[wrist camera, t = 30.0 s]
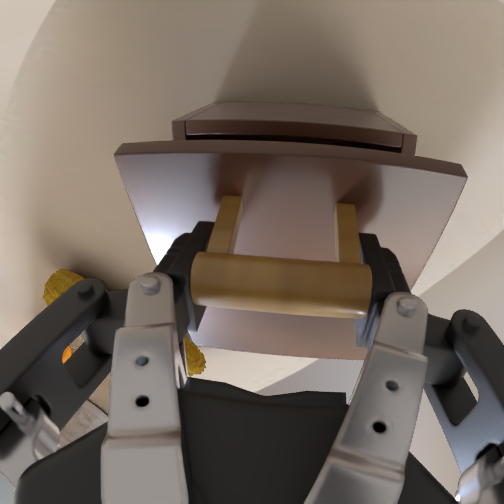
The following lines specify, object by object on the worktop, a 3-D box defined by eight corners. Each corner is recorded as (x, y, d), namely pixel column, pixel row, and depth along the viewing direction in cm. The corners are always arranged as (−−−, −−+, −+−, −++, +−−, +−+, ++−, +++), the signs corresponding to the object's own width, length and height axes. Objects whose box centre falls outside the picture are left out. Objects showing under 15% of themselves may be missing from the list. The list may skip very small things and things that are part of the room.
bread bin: (213, 102, 23) (170, 120, 15) (379, 111, 21) (417, 135, 14) (222, 269, 31) (197, 336, 24) (353, 280, 30) (364, 351, 22)
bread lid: (121, 142, 11) (53, 241, 8) (461, 163, 9) (513, 276, 6) (196, 336, 24) (182, 398, 20) (364, 350, 22) (364, 415, 19)
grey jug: (107, 430, 63) (56, 562, 30) (47, 390, 58) (-17, 521, 25) (125, 421, 57) (67, 577, 24) (56, 376, 52) (-21, 530, 19)
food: (61, 283, 36) (37, 313, 31) (65, 253, 33) (36, 283, 28) (202, 361, 39) (190, 398, 34) (220, 338, 36) (208, 379, 31)
